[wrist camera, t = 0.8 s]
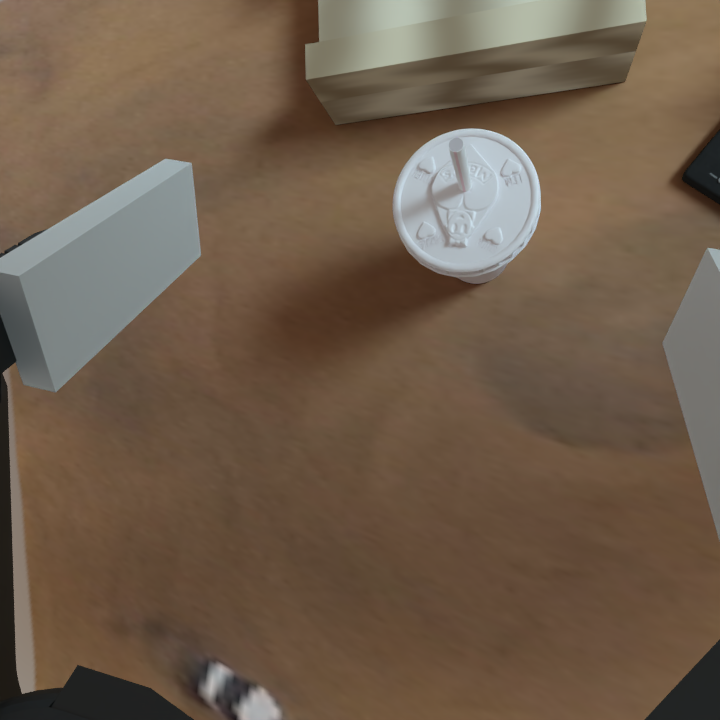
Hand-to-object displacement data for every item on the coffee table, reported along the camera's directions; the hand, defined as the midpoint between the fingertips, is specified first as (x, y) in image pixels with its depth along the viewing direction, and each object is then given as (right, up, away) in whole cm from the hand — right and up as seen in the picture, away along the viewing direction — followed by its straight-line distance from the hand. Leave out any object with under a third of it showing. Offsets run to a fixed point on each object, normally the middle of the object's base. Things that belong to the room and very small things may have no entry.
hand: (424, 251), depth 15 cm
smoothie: (+5, +3, +19) cm, 20 cm away
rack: (+5, +18, +20) cm, 28 cm away
